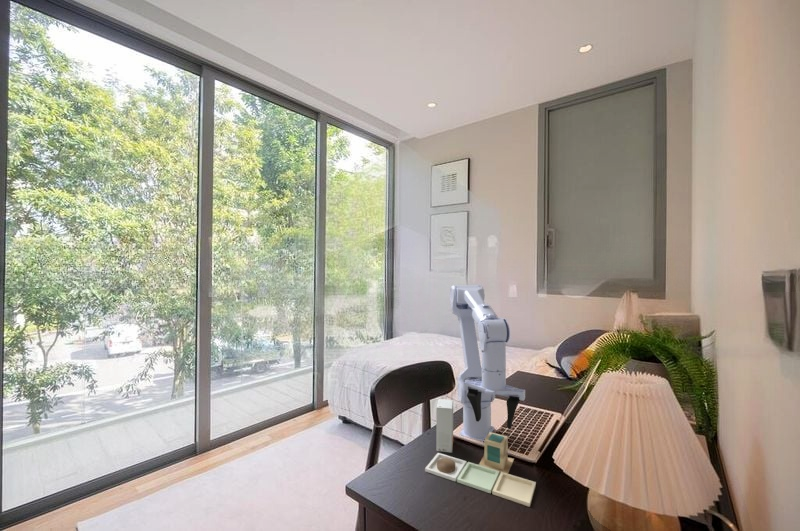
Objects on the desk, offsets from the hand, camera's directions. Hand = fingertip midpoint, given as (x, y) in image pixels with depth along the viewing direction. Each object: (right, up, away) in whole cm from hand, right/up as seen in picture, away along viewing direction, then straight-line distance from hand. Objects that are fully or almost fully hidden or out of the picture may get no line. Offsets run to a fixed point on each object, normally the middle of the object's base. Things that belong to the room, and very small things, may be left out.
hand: (493, 423), depth 85 cm
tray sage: (-5, -11, -6) cm, 13 cm away
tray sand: (+2, -11, -10) cm, 14 cm away
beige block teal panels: (+1, -10, 0) cm, 10 cm away
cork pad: (+1, -10, 0) cm, 10 cm away
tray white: (-12, -11, -2) cm, 16 cm away
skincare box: (-11, -11, +8) cm, 17 cm away
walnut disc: (-12, -10, -2) cm, 16 cm away
